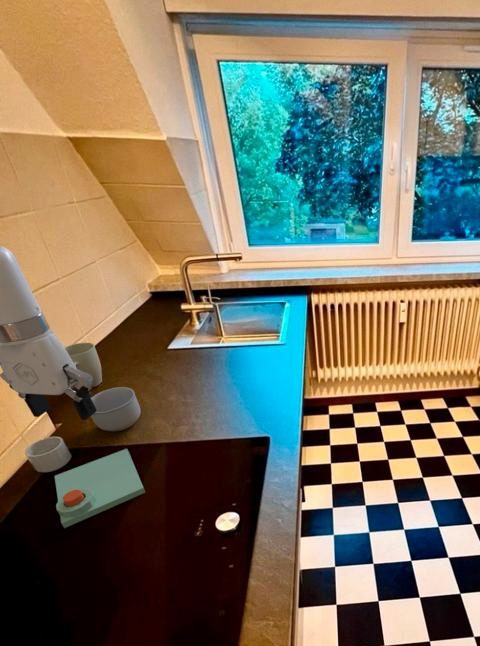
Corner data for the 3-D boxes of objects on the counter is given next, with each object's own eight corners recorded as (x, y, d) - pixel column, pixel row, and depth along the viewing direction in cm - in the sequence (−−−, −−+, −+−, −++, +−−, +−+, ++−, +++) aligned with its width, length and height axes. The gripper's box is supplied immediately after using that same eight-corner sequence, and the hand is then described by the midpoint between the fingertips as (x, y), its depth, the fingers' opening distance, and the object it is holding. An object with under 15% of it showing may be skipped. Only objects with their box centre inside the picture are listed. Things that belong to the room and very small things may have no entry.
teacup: (154, 416, 101) (143, 390, 97) (120, 441, 93) (107, 414, 88) (113, 407, 105) (102, 382, 101) (77, 431, 97) (63, 404, 93)
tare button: (66, 509, 72) (63, 504, 71) (65, 500, 74) (61, 494, 73) (85, 501, 73) (82, 496, 72) (83, 492, 75) (80, 487, 74)
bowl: (37, 478, 83) (25, 460, 80) (35, 462, 87) (24, 444, 85) (73, 464, 86) (64, 447, 83) (70, 449, 91) (61, 432, 88)
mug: (66, 389, 115) (47, 353, 108) (99, 375, 122) (84, 340, 115) (85, 399, 110) (67, 361, 103) (119, 383, 117) (104, 347, 110)
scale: (64, 528, 71) (57, 517, 70) (57, 480, 82) (50, 470, 80) (145, 492, 78) (140, 482, 77) (129, 453, 89) (124, 442, 87)
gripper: (-50, 335, 61) (7, 423, 70) (47, 338, 58) (93, 429, 68) (-6, 318, 67) (42, 401, 76) (84, 320, 64) (121, 405, 74)
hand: (66, 414), depth 72 cm, fingers open, 9 cm apart
